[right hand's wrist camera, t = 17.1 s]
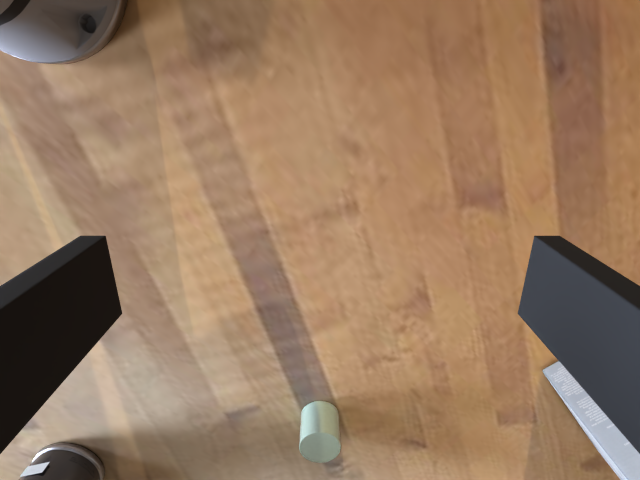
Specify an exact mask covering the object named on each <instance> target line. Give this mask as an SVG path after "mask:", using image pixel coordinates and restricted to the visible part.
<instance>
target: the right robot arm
mask: <svg viewBox="0 0 640 480" xmlns="http://www.w3.org/2000/svg"><path fill="white" fill-rule="evenodd" d="M126 4H127V0H0V50H1V51H3V52H5V53H8V54H10V55H12V56H15V57H18V58H20V59H24V60H27V61H31V62H38V63H48V64H68V63H74V62H78V61H81V60H84V59H86V58H89V57H90V56H92V55H94V54H96V53H97V52H98V51H100V50H101V49H102V48H103V47H104V46H105V45H106V44H107V43H108V42H109V41H110V40H111V39H112V37H113V36H114V34H115V33H116V31H117V30H118V28H119V26H120V23H121V21H122V18H123V16H124V12H125V8H126ZM121 314H122V310H121V306H120V301H119V296H118V292H117V287H116V282H115V278H114V273H113V268H112V264H111V259H110V254H109V250H108V245H107V240H106V236H80V237H78V238H76V239H75V240H73V241H72V242H70V243H68V244H67V245H65V246H64V247H62V248H60V249H59V250H57V251H56V252H54V253H52V254H51V255H49V256H48V257H46V258H44V259H43V260H41V261H40V262H38V263H36V264H35V265H33V266H32V267H30V268H29V269H27V270H25V271H24V272H22V273H21V274H19V275H17V276H16V277H14V278H13V279H11V280H9V281H8V282H6V283H5V284H3V285H1V286H0V454H1V453H2V451H3V450H4V449H5V448H6V447H7V446H8V444H9V443H10V442H11V441H12V440H13V439H14V438H15V436H16V435H17V434H18V433H19V432H20V431H21V430H22V428H23V427H24V426H25V425H26V424H27V423H28V421H29V420H30V419H31V418H32V417H33V416H34V415H35V413H36V412H37V411H38V410H39V409H40V408H41V406H42V405H43V404H44V403H45V402H46V401H47V400H48V398H49V397H50V396H51V395H52V394H53V393H54V391H55V390H56V389H57V388H58V387H59V386H60V385H61V383H62V382H63V381H64V380H65V379H66V378H67V377H68V375H69V374H70V373H71V372H72V371H73V370H74V368H75V367H76V366H77V365H78V364H79V363H80V362H81V360H82V359H83V358H84V357H85V356H86V355H87V353H88V352H89V351H90V350H91V349H92V348H93V347H94V345H95V344H96V343H97V342H98V341H99V340H100V339H101V337H102V336H103V335H104V334H105V333H106V332H107V330H108V329H109V328H110V327H111V326H112V325H113V324H114V322H115V321H116V320H117V319H118V318H119V317H120V315H121ZM518 314H519V315H520V317H521V318H522V319H523V320H524V321H525V322H526V324H527V325H528V326H529V327H530V328H531V329H532V330H533V332H534V333H535V334H536V335H537V336H538V337H539V339H540V340H541V341H542V342H543V343H544V344H545V345H546V347H547V348H548V349H549V350H550V351H551V352H552V353H553V355H554V356H555V357H556V358H557V359H558V360H559V362H560V363H561V364H562V365H563V366H564V367H565V368H566V370H567V371H568V372H569V373H570V374H571V375H572V377H573V378H574V379H575V380H576V381H577V382H578V383H579V385H580V386H581V387H582V388H583V389H584V390H585V392H586V393H587V394H588V395H589V396H590V397H591V398H592V400H593V401H594V402H595V403H596V404H597V405H598V406H599V408H600V409H601V410H602V411H603V412H604V413H605V415H606V416H607V417H608V418H609V419H610V420H611V421H612V423H613V424H614V425H615V426H616V427H617V428H618V430H619V431H620V432H621V433H622V434H623V435H624V436H625V438H626V439H627V440H628V441H629V442H630V443H631V444H632V446H633V447H634V448H635V449H636V450H637V451H638V453H639V454H640V286H639V285H637V284H635V283H634V282H632V281H631V280H629V279H627V278H626V277H624V276H623V275H621V274H619V273H618V272H616V271H615V270H613V269H611V268H610V267H608V266H607V265H605V264H604V263H602V262H600V261H599V260H597V259H596V258H594V257H592V256H591V255H589V254H588V253H586V252H584V251H583V250H581V249H580V248H578V247H576V246H575V245H573V244H572V243H570V242H568V241H567V240H565V239H564V238H562V237H560V236H534V240H533V245H532V250H531V254H530V259H529V264H528V268H527V273H526V278H525V282H524V287H523V292H522V296H521V301H520V306H519V310H518Z"/></svg>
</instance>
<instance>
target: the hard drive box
mask: <svg viewBox="0 0 640 480" xmlns="http://www.w3.org/2000/svg"><path fill="white" fill-rule="evenodd" d="M543 373H544V374H545V376H546V377H547V379H548V380H549V381H550V383H551V384H552V386H553V387H554V389H555V390H556V391H557V393H558V394H559V396H560V397H561V398H562V400H563V401H564V403H565V404H566V406H567V407H568V409H569V410H570V412H571V413H572V414H573V416H574V417H575V419H576V420H577V422H578V423H579V425H580V426H581V427H582V429H583V430H584V432H585V433H586V435H587V436H588V437H589V439H590V440H591V442H592V443H593V445H594V446H595V447H596V449H597V450H598V451H599V453H600V454H601V455H602V457H603V458H604V459H605V460H606V462H607V463H608V464H609V465H610V467H611V468H612V469H613V471H614V472H615V473H616V474H617V476H618V477H619V478H620V480H640V454H639V453H638V451H637V450H636V449H635V448H634V447H633V446H632V444H631V443H630V442H629V441H628V440H627V439H626V438H625V436H624V435H623V434H622V433H621V432H620V431H619V430H618V428H617V427H616V426H615V425H614V424H613V423H612V421H611V420H610V419H609V418H608V417H607V416H606V415H605V413H604V412H603V411H602V410H601V409H600V408H599V406H598V405H597V404H596V403H595V402H594V401H593V400H592V398H591V397H590V396H589V395H588V394H587V393H586V392H585V390H584V389H583V388H582V387H581V386H580V385H579V383H578V382H577V381H576V380H575V379H574V378H573V377H572V375H571V374H570V373H569V372H568V371H567V370H566V368H565V367H564V366H563V365H562V364H561V363H560V362H559V361H558V362H556V363H554V364H552V365H551V366H549V367H547V368H545V369H544V370H543Z"/></svg>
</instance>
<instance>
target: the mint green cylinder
mask: <svg viewBox="0 0 640 480" xmlns="http://www.w3.org/2000/svg"><path fill="white" fill-rule="evenodd" d="M299 450H300V452H301V454H302V456H303V457H304V458H306V459H307V460H309V461H312V462H316V463H324V462H328V461H331V460H333V459H334V458H336V457H337V456H338V454H339V452H340V450H341V443H340V425H339V413H338V410H337V408H336V407H335V406H334V405H332V404H331V403H329V402H325V401H315V402H311V403H309V404H308V405H306V406H305V407H304V408H303V410H302V413H301V425H300V443H299Z"/></svg>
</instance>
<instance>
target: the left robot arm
mask: <svg viewBox="0 0 640 480" xmlns="http://www.w3.org/2000/svg"><path fill="white" fill-rule="evenodd" d="M103 478H104V467H103V464H102V462H101V461H100V459H99V458H98V457H97V456H96V455H95V454H93V453H92V452H91V451H89V450H87V449H86V448H83V447H81V446H78V445H75V444H70V443H55V444H51V445H48V446H46V447H44V448H43V449H41V450H40V451H39V453H38V454H37V455H36V456H35V458H34V459H33V461H32V463H31V464H30V466H27V468H26V469H25V470H24V472H23V473H22V474H21V476H20V478H19V480H103Z"/></svg>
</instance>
